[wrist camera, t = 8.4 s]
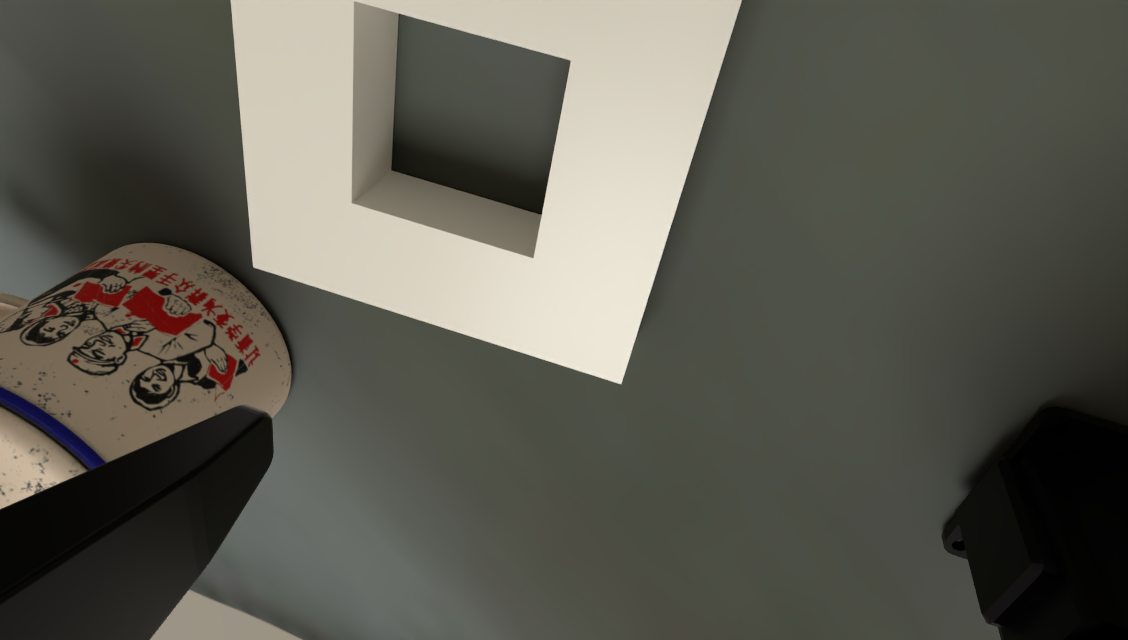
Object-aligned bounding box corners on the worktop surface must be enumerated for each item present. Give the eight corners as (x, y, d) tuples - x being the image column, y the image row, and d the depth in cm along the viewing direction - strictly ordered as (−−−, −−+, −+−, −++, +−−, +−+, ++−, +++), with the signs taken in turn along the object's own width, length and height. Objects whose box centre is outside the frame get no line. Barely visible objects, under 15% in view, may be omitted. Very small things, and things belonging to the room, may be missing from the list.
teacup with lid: (321, 305, 26) (58, 568, 17) (283, 455, 31) (67, 716, 22) (20, 151, 26) (-423, 331, 16) (33, 329, 31) (-293, 540, 22)
